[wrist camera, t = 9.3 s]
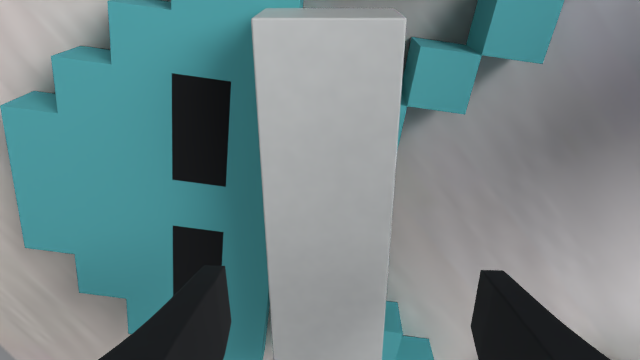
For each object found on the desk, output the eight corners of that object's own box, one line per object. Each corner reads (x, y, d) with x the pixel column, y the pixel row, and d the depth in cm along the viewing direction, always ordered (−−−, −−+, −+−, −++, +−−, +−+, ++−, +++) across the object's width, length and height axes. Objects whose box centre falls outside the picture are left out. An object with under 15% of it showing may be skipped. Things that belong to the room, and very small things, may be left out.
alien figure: (538, -7, 18) (9, -86, 17) (564, -2, 16) (-35, -92, 15) (419, 367, 26) (66, 324, 26) (426, 401, 24) (43, 355, 24)
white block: (394, 7, 16) (407, 17, 13) (374, 335, 22) (379, 387, 20) (265, 8, 16) (250, 17, 13) (282, 334, 22) (274, 385, 20)
